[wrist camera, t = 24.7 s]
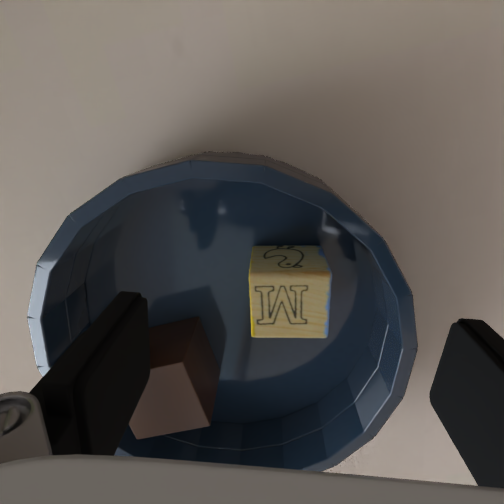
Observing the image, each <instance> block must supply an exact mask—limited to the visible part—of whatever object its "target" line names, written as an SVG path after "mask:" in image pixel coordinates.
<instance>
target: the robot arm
mask: <svg viewBox="0 0 504 504" xmlns="http://www.w3.org/2000/svg"><path fill="white" fill-rule="evenodd" d="M150 370H151V367H150V346H149V324H148V303H147V299H146V298H143V297H142V296H141V293H139V292H127V291H121V292H119V293H118V295H117V296H116V297H115V298H114V299H113V300H112V302H111V303H110V304H109V305H108V306H107V307H106V308H105V310H104V311H103V312H102V313H101V314H100V315H99V317H98V318H97V319H96V320H95V321H94V322H93V323H92V325H91V326H90V327H89V328H88V329H87V330H86V331H85V332H83V333H82V334H80V335H79V337H78V338H77V339H76V340H75V341H74V342H73V343H72V345H71V346H70V347H69V348H68V349H67V350H66V351H65V353H64V354H63V355H62V356H61V357H60V358H59V359H58V361H57V362H56V363H55V364H54V365H53V366H52V367H51V368H50V370H49V371H48V372H47V373H46V374H45V375H44V376H43V378H42V379H41V380H40V381H39V382H38V383H37V384H36V386H35V387H34V388H33V389H32V390H31V391H30V392H29V393H27V392H21V391H18V392H8V393H4V394H0V504H504V339H503V338H502V337H501V336H499V335H498V334H497V333H496V332H495V331H494V330H493V329H492V328H491V327H490V326H489V325H488V324H487V323H485V322H484V321H483V320H476V319H463V318H461V319H459V320H458V321H457V323H453V324H452V325H451V328H450V331H449V334H448V337H447V340H446V343H445V346H444V349H443V353H442V356H441V359H440V362H439V365H438V368H437V371H436V374H435V378H434V381H433V384H432V387H431V390H430V402H431V405H432V406H433V408H434V410H435V412H436V413H437V415H438V417H439V419H440V420H441V422H442V424H443V426H444V427H445V429H446V431H447V432H448V434H449V436H450V438H451V439H452V441H453V443H454V445H455V446H456V448H457V450H458V451H459V453H460V455H461V457H462V458H463V460H464V462H465V464H466V465H467V467H468V469H469V470H470V472H471V474H472V476H473V477H474V479H475V481H476V483H477V484H478V486H473V485H462V484H451V483H441V482H430V481H419V480H409V479H397V478H386V477H375V476H364V475H352V474H341V473H329V472H318V471H306V470H295V469H283V468H271V467H259V466H246V465H234V464H222V463H210V462H197V461H185V460H172V459H158V458H144V457H129V456H114V454H115V452H116V450H117V448H118V446H119V443H120V441H121V439H122V437H123V435H124V433H125V430H126V428H127V426H128V424H129V422H130V419H131V417H132V415H133V413H134V411H135V409H136V406H137V404H138V402H139V400H140V398H141V396H142V393H143V391H144V389H145V387H146V385H147V383H148V380H149V377H150Z"/></svg>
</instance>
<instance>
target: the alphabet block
mask: <svg viewBox="0 0 504 504" xmlns="http://www.w3.org/2000/svg"><path fill="white" fill-rule="evenodd" d="M331 282H332V272H331V269H330V267H329V264H328V262H327V259H326V257H325V254H324V251H323V248H322V247H321V246H311V245H309V246H307V245H304V246H285V245H284V246H253V248H252V254H251V262H250V269H249V295H250V317H251V336H252V337H256V338H276V337H277V338H327V337H328V332H329V314H330V298H331Z"/></svg>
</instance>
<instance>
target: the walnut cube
mask: <svg viewBox="0 0 504 504" xmlns="http://www.w3.org/2000/svg"><path fill="white" fill-rule="evenodd" d="M149 346H150V367H151V370H150V377H149V380H148V383H147V385H146V387H145V389H144V391H143V393H142V396H141V398H140V400H139V402H138V404H137V406H136V409H135V411H134V413H133V415H132V417H131V419H130V422H129V426H130V428H131V430H132V431H133V433H134V435H135V437H136V439H143V438H149V437H154V436H159V435H165V434H170V433H175V432H181V431H186V430H191V429H197V428H202V427H207V426H210V424H211V419H212V414H213V408H214V403H215V398H216V392H217V387H218V382H219V376H220V369H219V367H218V364H217V361H216V359H215V356H214V354H213V351H212V349H211V346H210V344H209V341H208V338H207V336H206V333H205V331H204V328H203V326H202V323H201V321H200V318H199V316H198V317H193V318H189V319H185V320H181V321H176V322H172V323H168V324H164V325H159V326H155V327H151V328H149Z"/></svg>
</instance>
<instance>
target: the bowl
mask: <svg viewBox="0 0 504 504" xmlns="http://www.w3.org/2000/svg"><path fill="white" fill-rule="evenodd" d="M284 245H285V246H304V245H307V246H309V245H311V246H321V247H322V248H323V251H324V254H325V257H326V259H327V262H328V264H329V267H330V269H331V272H332V282H331V298H330V314H329V332H328V337H327V338H277V337H276V338H256V337H252V336H251V317H250V295H249V269H250V262H251V254H252V248H253V246H284ZM121 291H127V292H139V293H141V296H142V297H143V298H146V299H147V303H148V324H149V328H151V327H155V326H159V325H164V324H168V323H172V322H176V321H181V320H185V319H189V318H193V317H198V316H199V318H200V321H201V323H202V326H203V328H204V331H205V333H206V336H207V338H208V341H209V344H210V346H211V349H212V351H213V354H214V356H215V359H216V361H217V364H218V367H219V369H220V376H219V382H218V387H217V392H216V398H215V403H214V408H213V414H212V419H211V424H210V426H207V427H202V428H197V429H191V430H186V431H181V432H175V433H170V434H165V435H159V436H154V437H149V438H143V439H136V437H135V435H134V433H133V431H132V430H131V428H130V426H129V424H128V426H127V428H126V430H125V433H124V435H123V437H122V439H121V441H120V443H119V446H118V448H117V450H116V452H115V454H114V456H129V457H144V458H158V459H172V460H185V461H197V462H210V463H222V464H234V465H246V466H259V467H271V468H283V469H295V470H306V471H318V472H321V471H324V470H327V469H329V468H332V467H334V465H335V466H336V465H337V464H339V463H340V462H342V461H343V460H344V459H346V458H347V457H348V456H350V455H351V454H352V453H354V452H355V451H357V450H358V449H359V448H361V447H362V446H363V445H365V444H366V443H367V442H369V441H370V440H372V439H373V438H374V437H375V436H376V435H377V433H378V432H379V431H380V429H381V428H382V426H383V425H384V424H385V422H386V421H387V420H388V418H389V417H390V416H391V414H392V413H393V411H394V410H395V409H396V407H397V406H398V405H399V403H400V402H401V401H402V399H403V397H404V395H405V391H406V388H407V384H408V381H409V378H410V374H411V371H412V367H413V364H414V360H415V357H416V353H417V348H418V343H417V333H416V323H415V313H414V304H413V295H412V291H411V289H410V287H409V285H408V284H407V282H406V280H405V278H404V276H403V274H402V272H401V270H400V268H399V266H398V264H397V263H396V261H395V259H394V257H393V255H392V253H391V251H390V249H389V247H388V245H387V243H386V242H385V240H384V239H383V237H382V236H381V235H380V234H379V233H378V232H377V231H376V230H375V229H374V228H373V227H372V226H371V225H370V224H369V223H368V222H367V221H366V220H365V219H364V218H363V217H362V216H361V215H360V214H359V213H358V212H357V211H356V210H354V209H353V208H352V207H351V206H350V205H349V204H348V203H347V202H345V201H344V200H343V199H342V198H341V197H340V196H339V195H338V194H337V193H335V192H334V191H333V190H332V189H331V188H330V187H329V186H328V185H327V184H325V183H324V182H323V181H322V180H321V179H319V178H318V177H316V176H313V175H311V174H309V173H307V172H305V171H303V170H301V169H299V168H296V167H294V166H292V165H289V164H287V163H285V162H282V161H279V160H275V159H273V158H271V157H268V156H266V157H265V156H264V155H254V154H247V153H240V152H212V151H208V152H202V153H198V154H194V155H190V156H186V157H183V158H179V159H175V160H172V161H168V162H164V163H160V164H156V165H153V166H151V167H148V168H145V169H143V170H140V171H138V172H135V173H132V174H130V175H127V176H125V177H123V178H120V179H119V180H117V181H116V182H114V183H113V184H111V185H110V186H109V187H107V188H106V189H104V190H103V191H101V192H100V193H99V194H97V195H96V196H94V197H93V198H91V199H90V200H89V201H87V202H86V203H84V204H83V205H81V206H80V207H79V208H77V209H76V210H74V211H73V212H71V213H70V215H68V216H67V217H66V219H65V220H64V222H63V223H62V225H61V227H60V228H59V230H58V231H57V233H56V234H55V236H54V237H53V239H52V240H51V242H50V243H49V245H48V247H47V248H46V250H45V251H44V253H43V254H42V256H41V257H40V259H39V260H38V262H37V265H36V270H35V276H34V281H33V286H32V292H31V297H30V303H29V308H28V314H27V316H28V317H27V319H28V324H29V329H30V335H31V340H32V345H33V350H34V355H35V360H36V365H37V368H38V370H39V372H40V373H41V375H42V377H43V376H44V375H45V374H46V373H47V372H48V371H49V370H50V368H51V367H52V366H53V365H54V364H55V363H56V362H57V361H58V359H59V358H60V357H61V356H62V355H63V354H64V353H65V351H66V350H67V349H68V348H69V347H70V346H71V345H72V343H73V342H74V341H75V340H76V339H77V338H78V337H79V335H80V334H82V333H83V332H85V331H86V330H87V329H88V328H89V327H90V326H91V325H92V323H93V322H94V321H95V320H96V319H97V318H98V317H99V315H100V314H101V313H102V312H103V311H104V310H105V308H106V307H107V306H108V305H109V304H110V303H111V302H112V300H113V299H114V298H115V297H116V296H117V295H118V293H119V292H121Z"/></svg>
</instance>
